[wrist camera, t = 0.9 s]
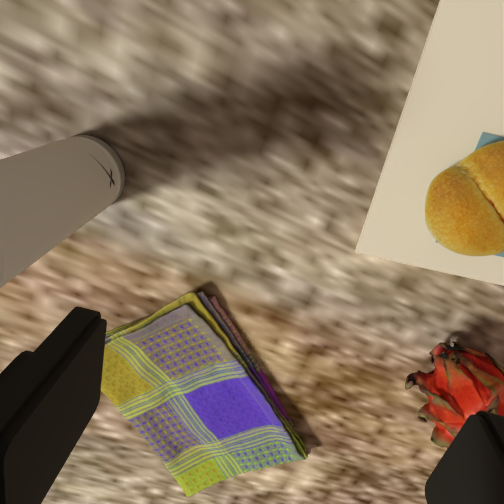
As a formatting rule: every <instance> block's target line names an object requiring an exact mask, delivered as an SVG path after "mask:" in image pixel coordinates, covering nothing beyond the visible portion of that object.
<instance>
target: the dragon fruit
mask: <svg viewBox="0 0 504 504" xmlns="http://www.w3.org/2000/svg"><path fill="white" fill-rule="evenodd" d="M453 343H454V347H451V346H450V345H447V344H446V343H439V345H437V346H436V347H435V348H434V349H433V350H432V351H431V352H430V353H429V354H430V355H432V356H431V361H432V363H433V361H435V363H434V365H435V369H434V373H433V374H427V373H424V372H421V371H418V372H416V373H412V374H410V375H408V376H407V378H406V382H405V388H406V389H410V388H411V387H412V386H413V385H418V386H419V389H420V391H421V392H423V393H425V394H426V395H427V396H428V398H429V400H430V403H428V404H425V405H424V406H423V407H421V409H420V411H418V415H419V416H418V418H419V419H420V420H421V421H423V422H427V421H426V419H427V420H430V421H432V422H434V423H435V424H436V426H435V428H434V430H433V432H432V436H431V441H432V442H433V443H435V444H436V445H438V446H440V447H447V449H448V448H449V446H450V444H451V443H452V441H453V440H454V438H455V437H456V435H457V434H458V432H459V431H460V429H461V428H462V426H463V424H464V423H465V421H466V420H467V418H468V417H469V416H470V415H472V414H473V415H475V414H476V413H477V412H478V411H486V412H490V413H494V414H498V415H502V416H504V369H503V368H502V367H501V366H500V365H499V364H498V363H497V362H496V361H495V360H494V359H493V358H492V357H491V356H490V355H489V354H488V353H486V352H485V355H484V354H482V353H480V352H478V351H476V350H473V349H469V348H467V347H464V346H461V345H460V343H459V342H453Z"/></svg>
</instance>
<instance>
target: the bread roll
mask: <svg viewBox="0 0 504 504" xmlns="http://www.w3.org/2000/svg"><path fill="white" fill-rule="evenodd" d="M425 221H426V225H427V228H428V230H429V231H430V233H431V234H432V236H433V237H434V238H435V239H436V240H437V241H438V242H439V243H440V244H441V245H442V246H443V247H445V248H447V249H448V250H450V251H453V252H455V253H458V254H462V255H467V256H489V255H495V254H499V253H502V252H504V141H498V142H495V143H491V144H488V145H485V146H483V147H481V148H479V149H477V150H475V151H474V152H472V153H471V154H470V155H468V156H467V157H466V158H464V159H463V160H461V161H460V162H458V163H457V164H455V165H454V166H452V167H449V168H447V169H445V170H444V171H442V172H441V173H440V174H438V175H437V176H436V177H435V178H434V179H433V180H432V181H431V183H430V185H429V188H428V191H427V195H426V200H425Z"/></svg>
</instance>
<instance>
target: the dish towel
mask: <svg viewBox="0 0 504 504" xmlns="http://www.w3.org/2000/svg"><path fill="white" fill-rule="evenodd" d="M101 391H102V392H103V393H104V394H105V395H106V396H108V398H109V399H110V400H111V401H112V402H113V404H114V405H115V406H116V408H117V409H118V410H119V411H120V412H121V413H122V414H123V415H124V416H125V417H126V418H127V420H128V421H129V422H130V423H131V424H132V425H133V426H134V427H135V428H136V429H137V430H138V432H139V433H140V434H141V436H142V437H143V438H144V439H145V440H146V442H147V443H148V444H149V446H150V447H151V448H152V449H153V450H154V452H155V453H156V454H157V455H158V456H159V457H160V459H161V460H162V461H163V463H164V464H165V466H166V468H167V469H168V470H169V471H170V473H171V474H172V475H173V476H174V478H175V479H176V481H177V482H178V484H179V485H180V487H181V488H182V489H183V491H184V492H185V494H186V495H187V497H190V496H192V495H195V494H196V493H198V492H200V491H202V490H203V489H206V488H207V487H209V486H212V485H214V484H216V483H217V482H219V481H222V480H225V479H228V478H230V477H233V476H235V475H238V474H241V473H244V472H248V471H254V470H260V469H262V468H267V467H270V466H274V465H277V464H283V463H286V462H287V463H289V462H291V461H297V460H305V459H306V458H307V457H308V452H306V447H305V445H304V443H303V442H302V440H301V439H300V437H299V436H298V433H297V431H296V429H295V427H294V425H293V424H292V422H291V420H290V419H289V417H288V415H287V414H286V412H285V410H284V408H283V406H282V405H281V402H280V401H279V399H278V397H277V395H276V393H275V391H274V390H273V388H272V386H271V384H270V383H269V381H268V379H267V377H266V376H265V374H264V373H263V371H262V369H261V367H260V366H259V364H258V362H257V361H256V359H255V358H254V356H253V354H252V353H251V352H250V350H249V348H248V347H247V345H246V344H245V342H244V340H243V339H242V337H241V335H240V334H239V332H238V331H237V329H236V327H235V325H234V324H233V323H232V321H231V319H230V318H229V317H228V315H227V314H226V311H225V310H223V309H222V308H221V307H220V305H219V303H218V301H217V299H216V297H215V296H210V297H206V295H205V294H204V292H203V291H202V292H199V293H196V294H195V292H193V291H192V292H189V293H187V294H185V295H183V296H181V297H180V298H178V299H177V300H175V301H174V302H172V303H170V304H168V305H166V306H165V307H163V308H161V309H160V310H158V311H157V312H156V313H154V314H152V315H150V316H148V317H147V318H145V319H143V320H140V321H137V322H134V323H131V324H128V325H125V326H122V327H119V328H116V329H114V330H111V331H109V332H106V337H105V348H104V359H103V370H102V381H101Z"/></svg>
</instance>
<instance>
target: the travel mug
mask: <svg viewBox="0 0 504 504" xmlns="http://www.w3.org/2000/svg"><path fill="white" fill-rule="evenodd" d="M124 185H125V173H124V168H123V165H122V162H121V160H120V158H119V157H118V155H117V154H116V152H115V151H114V150H113V149H112V148H111V147H110V146H109V145H108V144H106V143H105V142H103V141H102V140H100V139H98V138H96V137H93V136H88V135H76V136H72V137H69V138H66V139H63V140H60V141H56V142H53V143H50V144H47V145H44V146H41V147H38V148H35V149H32V150H29V151H26V152H23V153H20V154H17V155H14V156H11V157H7V158H4V159H1V160H0V288H1V287H2V286H4V285H5V284H6V283H8V282H9V281H10V280H12V279H13V278H14V277H16V276H17V275H18V274H20V273H21V272H22V271H24V270H25V269H26V268H28V267H29V266H30V265H32V264H33V263H34V262H36V261H37V260H38V259H40V258H41V257H42V256H43V255H45V254H46V253H47V252H49V251H50V250H51V249H53V248H54V247H55V246H57V245H58V244H59V243H61V242H62V241H63V240H65V239H66V238H67V237H69V236H70V235H71V234H73V233H74V232H75V231H77V230H78V229H79V228H81V227H82V226H83V225H85V224H86V223H87V222H89V221H90V220H91V219H93V218H94V217H95V216H97V215H98V214H99V213H100V212H102V211H103V210H104V209H106V208H107V207H108V206H110V205H111V204H112V203H114V202H115V201H116V200H117V199H118V198H119V197H120V195H121V193H122V191H123V188H124Z"/></svg>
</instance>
